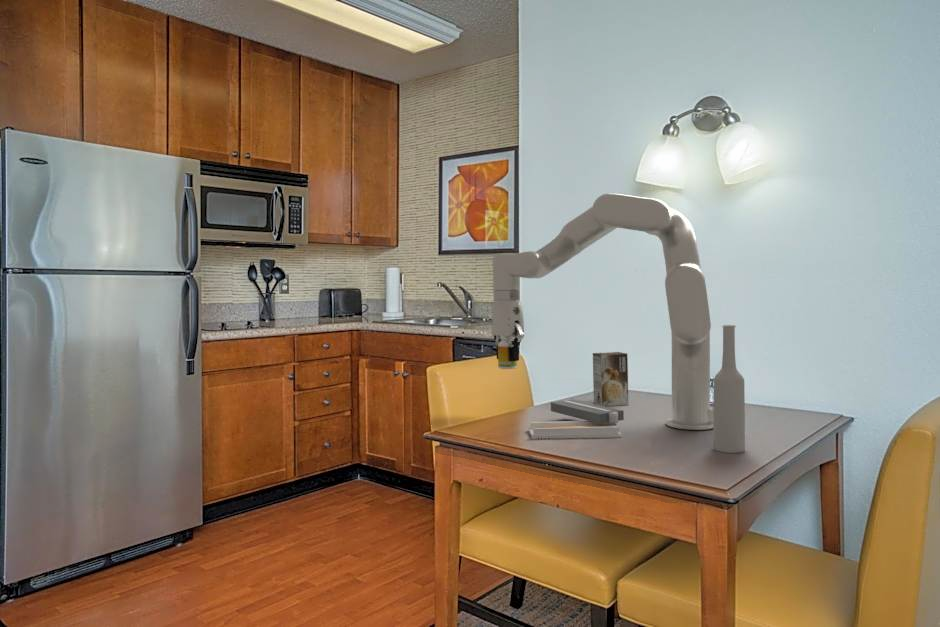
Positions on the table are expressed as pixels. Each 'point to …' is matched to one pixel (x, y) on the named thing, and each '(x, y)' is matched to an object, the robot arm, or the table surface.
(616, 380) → the coffee box
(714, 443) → the bottle
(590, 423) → the duct base
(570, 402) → the block
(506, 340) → the supplement bottle
